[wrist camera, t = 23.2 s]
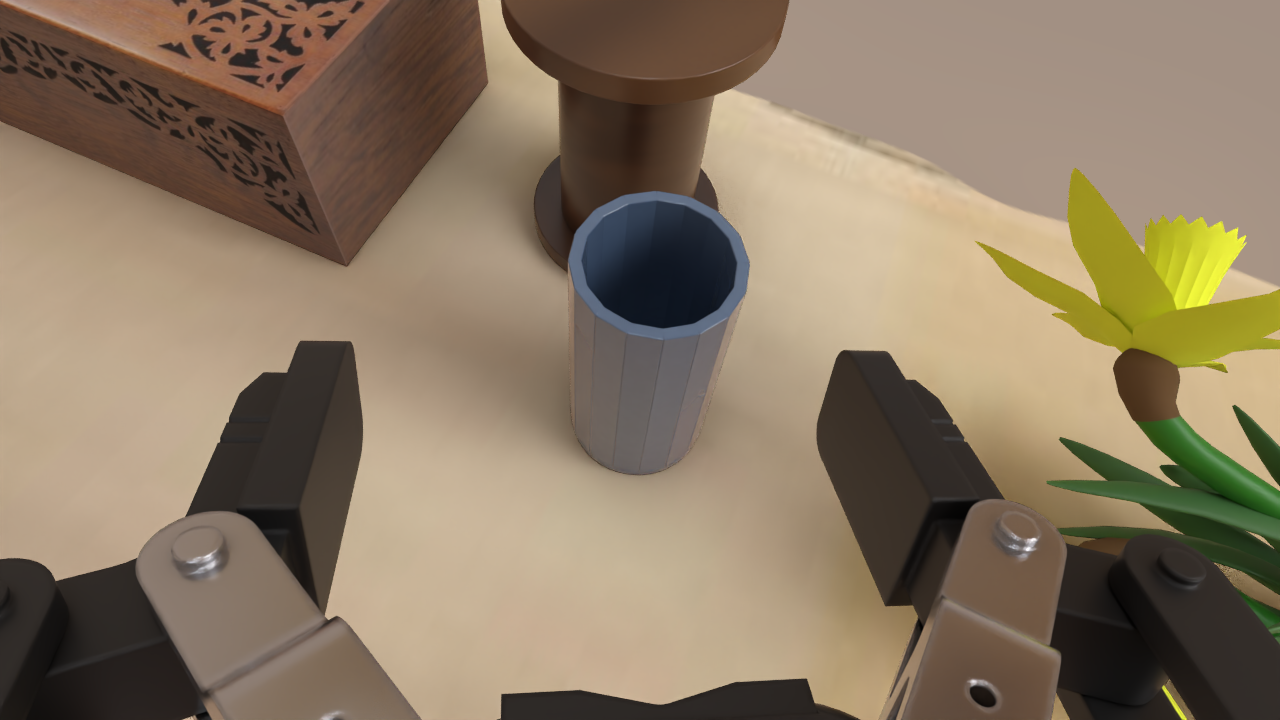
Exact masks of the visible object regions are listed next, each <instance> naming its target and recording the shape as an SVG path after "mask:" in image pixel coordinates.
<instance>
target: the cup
mask: <svg viewBox="0 0 1280 720" xmlns="http://www.w3.org/2000/svg"><path fill="white" fill-rule="evenodd" d="M749 263H750V262H749V259H748V256H747V254H746V251H745V248H744V245H743V242H742V239H741V237H740V236H739V233H738V232H737V231H736V230H735V229H734V228H733V227H732V226H731V225H730V224H729V223H728V221H727V220H726V219H725V218H724V217H723V216H722V215H721V214H720V213H718V211H716V210H714V209H712V208H710V207H708V206H707V205H705V204H703V203H701V202H699V201H697V200H695V199H693V198H691V197H689V196H684V195H678V194H673V193H667V192H661V191H649V192H642V193H634V194H627V195H624V196H620V197H618V198H616V199H614V200H612V201H610V202H608V203H606V204H604V205H602V206H600V207H598V208H596V209H595V210H594V211H593V212H592V213H591V214H590V216H589V217H588V218H587V219H586V220H585V221H584V223H583V224H582V225H581V226H580V227H579V228H578V229H577V231H576V233H575V234H574V238H573V242H572V246H571V250H570V253H569V257H568V300H569V365H570V411H571V418H572V425H573V429H574V432H575V435H576V437H577V439H578V441H579V443H580V444H581V446H582V447H583V448H584V450H585V451H586V452H587V453H588V454H589V455H590V456H591V457H592V458H593V459H594V460H596V461H597V462H598V463H600V464H601V465H603V466H605V467H607V468H609V469H612V470H614V471H617V472H621V473H625V474H633V475H644V474H651V473H655V472H659V471H662V470H664V469H667V468H669V467H671V466H673V465H674V464H676V463H677V462H679V461H680V460H681V459H682V458H683V457H684V456H685V455H686V454H687V453H688V452H689V451H690V449H691V448H692V447H693V445H694V443H695V441H696V439H697V437H698V435H699V434H700V431H701V428H702V425H703V422H704V419H705V416H706V413H707V410H708V407H709V404H710V401H711V398H712V395H713V392H714V389H715V386H716V383H717V380H718V377H719V374H720V371H721V368H722V365H723V361H724V358H725V355H726V352H727V349H728V346H729V343H730V340H731V337H732V334H733V331H734V328H735V325H736V322H737V319H738V316H739V313H740V310H741V307H742V304H743V301H744V298H745V294H746V291H747V284H748V276H749V268H750V264H749Z"/></svg>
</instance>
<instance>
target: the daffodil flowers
mask: <svg viewBox="0 0 1280 720" xmlns="http://www.w3.org/2000/svg"><path fill="white" fill-rule="evenodd" d="M1067 217H1068V222H1069V227H1070V232H1071V237H1072V242H1073V246H1074V248H1075V250H1076V251H1077V253H1078V255H1079V257H1080V259H1081V260H1082V262H1083V264H1084V266H1085V268H1086V269H1087V271H1088V273H1089V275H1090V277H1091V278H1092V280H1093V282H1094V284H1095V287H1096V290H1097V293H1098V297H1099V300H1100V303H1101V306H1102V307H1101V306H1100V305H1098V304H1097V303H1096V302H1094V301H1093V300H1092V299H1091V298H1089V297H1088V296H1087V295H1085V294H1084V293H1083V292H1080V291H1078V290H1076V289H1074V288H1072V287H1070V286H1068V285H1066V284H1064V283H1062V282H1060V281H1058V280H1056V279H1054V278H1052V277H1049V276H1047V275H1045V274H1043V273H1041V272H1039V271H1037V270H1035V269H1033V268H1031V267H1029V266H1027V265H1026V264H1024V263H1022V262H1020V261H1018V260H1016V259H1014V258H1012V257H1010V256H1008V255H1006V254H1004V253H1002V252H1000V251H998V250H996V249H994V248H992V247H990V246H987V245H985V244H982V243H980V242H977V241H975V242H976V243H977V244H978V245H979V246H981V247H982V248H983V249H984V250H985V251H986V252H987V253H988V254H989V255H990V256H991V257H992V258H993V259H994V261H995V262H996V263H997V264H998V266H999V267H1000V268H1001V270H1002V271H1003V272H1004V274H1005V275H1006V276H1007V277H1008V278H1009V279H1011V280H1012V281H1013V282H1015V283H1016V284H1018V285H1019V286H1021V287H1022V288H1023V289H1025V290H1026V291H1028V292H1029V293H1031V294H1032V295H1033V296H1035V297H1037V298H1039V299H1041V300H1043V301H1045V302H1047V303H1049V304H1051V305H1053V306H1055V307H1057V308H1059V309H1061V310H1063V311H1065V312H1067V313H1054V314H1052V315H1053V316H1055V317H1057V318H1059V319H1061V320H1063V321H1065V322H1067V323H1068V324H1070V325H1071V326H1072V327H1074V328H1075V329H1076V330H1077V331H1078V332H1079V333H1080V334H1081V335H1082V336H1083V337H1085V338H1088V339H1091V340H1093V341H1096V342H1099V343H1102V344H1104V345H1107V346H1114V347H1116V348H1117V349H1118V350H1120V351H1121V352H1122V354H1121V355H1120V356H1119V357H1118V358H1117V360H1116V361H1115V364H1114V367H1113V371H1114V375H1115V379H1116V384H1117V388H1118V392H1119V395H1120V397H1121V399H1122V401H1123V402H1124V404H1125V406H1126V408H1127V410H1128V412H1129V414H1130V416H1131V417H1132V419H1133V420H1134V421H1135V422H1136V423H1137V424H1138V425H1139V427H1140V428H1141V429H1142V430H1143V432H1144V433H1145V434H1146V435H1147V437H1148V438H1149V439H1150V440H1151V442H1152V443H1153V444H1154V445H1155V446H1156V447H1157V448H1158V449H1160V450H1161V451H1162V452H1163V453H1164V454H1165V455H1167V456H1168V457H1169V458H1170V459H1171V460H1172V461H1174V462H1175V463H1176V464H1177V465H1161V466H1160V469H1161V470H1162V471H1163V473H1164V474H1165V475H1166V476H1167V477H1168V478H1170V479H1171V480H1172V481H1173V482H1175V483H1176V484H1178V485H1179V486H1181V487H1175V486H1171V485H1169V484H1167V483H1165V482H1163V481H1161V480H1160V479H1158V478H1156V477H1154V476H1152V475H1150V474H1148V473H1146V472H1144V471H1142V470H1140V469H1138V468H1136V467H1133V466H1131V465H1129V464H1127V463H1125V462H1123V461H1121V460H1119V459H1116V458H1114V457H1112V456H1110V455H1108V454H1105V453H1103V452H1100V451H1098V450H1096V449H1093V448H1091V447H1088V446H1086V445H1083V444H1081V443H1078V442H1075V441H1072V440H1069V439H1065V438H1061V437H1060V439H1059V440H1060V441H1061V443H1062V444H1063V445H1065V446H1066V447H1067V448H1068V449H1069V450H1070V451H1071V452H1072V453H1073V454H1074V455H1076V456H1077V457H1078V458H1079V459H1081V460H1082V461H1083V462H1084V463H1086V464H1087V465H1088V466H1089V467H1090V468H1092V469H1093V470H1094V471H1095V472H1097V473H1098V474H1099V475H1101V476H1102V477H1103V478H1105V479H1106V480H1108V481H1097V480H1061V481H1047V484H1049V485H1052V486H1056V487H1060V488H1064V489H1068V490H1071V491H1075V492H1081V493H1086V494H1092V495H1098V496H1104V497H1110V498H1115V499H1121V500H1127V501H1132V502H1136V503H1139V504H1140V505H1142V506H1143V507H1145V508H1146V509H1148V510H1149V511H1150V512H1152V513H1153V514H1155V515H1156V516H1158V517H1159V518H1160V519H1162V520H1163V521H1165V522H1166V523H1168V524H1169V525H1171V526H1172V527H1174V528H1175V529H1177V530H1178V531H1180V532H1182V533H1183V534H1185V535H1183V534H1178V533H1174V532H1169V531H1165V530H1159V529H1144V528H1129V527H1114V526H1096V527H1072V528H1057V530H1058V531H1059V532H1060V534H1063V535H1069V536H1076V537H1085V538H1095V540H1090V541H1085V542H1083V543H1081V544H1080V545H1079V546H1078V547H1083V548H1087V549H1091V550H1096V551H1100V552H1104V553H1108V554H1113V555H1117V556H1118V555H1119V554H1120V552H1121V551H1122V549H1123V548H1124V546H1125V545H1126V543H1127V542H1128V541H1129V540H1130V539H1131V538H1133V537H1135V536H1138V535H1142V534H1153V535H1160V536H1165V537H1169V538H1172V539H1175V540H1177V541H1180V542H1182V543H1184V544H1186V545H1188V546H1190V547H1192V548H1194V549H1195V550H1197V551H1199V552H1200V553H1202V554H1203V555H1204V556H1206V557H1207V558H1208V559H1210V560H1211V561H1212V562H1215V563H1219V564H1222V565H1225V566H1228V567H1231V568H1234V569H1237V570H1240V571H1242V572H1244V573H1245V574H1247V575H1249V576H1250V577H1252V578H1253V579H1255V580H1256V581H1258V582H1259V583H1261V584H1263V585H1264V586H1266V587H1267V588H1269V589H1270V590H1272V591H1273V592H1275V593H1277V594H1278V595H1280V491H1279V490H1277V489H1276V488H1274V487H1273V486H1271V485H1270V484H1268V483H1267V482H1265V481H1264V480H1262V479H1260V478H1259V477H1257V476H1256V475H1254V474H1253V473H1251V472H1250V471H1248V470H1247V469H1245V468H1244V467H1242V466H1241V465H1239V464H1238V463H1236V462H1235V461H1234V460H1232V459H1231V458H1229V457H1228V456H1226V455H1225V454H1223V453H1222V452H1220V451H1219V450H1217V449H1216V448H1214V447H1213V446H1211V445H1210V444H1209V443H1208V442H1206V441H1205V440H1204V439H1203V438H1202V437H1200V436H1199V435H1198V434H1197V433H1196V432H1195V431H1194V430H1193V429H1192V428H1191V427H1190V426H1189V425H1188V424H1187V423H1186V421H1185V420H1184V419H1183V418H1182V417H1181V416H1180V414H1179V411H1178V408H1177V405H1176V398H1177V393H1178V388H1179V383H1180V375H1179V371H1178V368H1180V367H1200V366H1206V367H1209V368H1212V369H1216V370H1219V371H1222V372H1225V373H1228V372H1227V370H1226V365H1224V364H1223V363H1219V362H1214V361H1209V360H1214V359H1218V358H1220V357H1222V356H1225V355H1227V354H1229V353H1231V352H1236V351H1245V350H1253V349H1280V340H1275V339H1268V338H1263V337H1265V336H1267V335H1269V334H1271V333H1273V332H1275V331H1277V330H1279V329H1280V289H1279V290H1277V291H1274V292H1272V293H1270V294H1265V295H1260V296H1254V297H1249V298H1243V299H1238V300H1232V301H1227V302H1221V303H1215V304H1209V305H1208V303H1209V302H1210V300H1211V298H1212V296H1213V294H1214V293H1215V291H1216V289H1217V287H1218V286H1219V284H1220V282H1221V280H1222V278H1223V276H1224V275H1225V273H1226V272H1227V270H1228V269H1229V267H1230V266H1231V264H1232V263H1233V261H1234V260H1235V258H1236V257H1237V255H1238V254H1239V253H1240V251H1241V250H1242V248H1243V247H1244V245H1245V244H1246V243H1245V244H1244V245H1243V246H1242V244H1243V242H1244V240H1245V237H1246V235H1245V236H1243V237H1242V238H1240V239H1238V240H1237V233H1238V228H1236V229H1234V230H1232V231H1229V232H1227V233H1225V230H1224V227H1223V223H1222V222H1219V223H1217V224H1215V225H1213V226H1211V227H1209V228H1208V227H1207V225H1206V223H1205V221H1204V219H1203V217H1200V218H1198V219H1197V220H1195V221H1194V222H1192V223H1191V224H1188V223H1187V221H1186V220H1185V219H1184V217H1183V216H1182V215H1180V216H1178V217H1177V218H1176V219H1175V220H1174V221H1173V222H1172V223H1171V224H1170V223H1169V221H1168V220H1167V219H1166V218H1165V217H1164V215H1163V216H1162V217H1161V219H1160V220H1159V222H1158V223H1157V225H1155V223H1154V222H1153V220H1152V219H1150V223H1149V226H1148V229H1147V226H1146V225H1145V255H1144V254H1143V252H1142V251H1141V250H1140V248H1139V247H1138V245H1137V244H1136V242H1135V241H1134V240H1133V238H1132V237H1131V235H1130V234H1129V232H1128V231H1127V230H1126V228H1125V227H1124V226H1123V224H1122V223H1121V221H1120V220H1119V218H1118V217H1117V215H1116V214H1115V213H1114V211H1113V210H1112V209H1111V208H1110V206H1109V205H1108V204H1107V202H1106V201H1105V200H1104V198H1103V197H1102V196H1101V195H1100V193H1099V192H1098V191H1097V190H1096V189H1095V187H1094V186H1093V185H1092V184H1091V183H1090V182H1089V180H1088V179H1087V178H1086V177H1085V176H1084V175H1083V174H1082V173H1081V172H1080V171H1079V170H1078V169H1076V168H1074V169H1073V172H1072V174H1071V181H1070V188H1069V202H1068V216H1067ZM1232 407H1233V409H1234V412H1235V414H1236V416H1237V418H1238V421H1239V423H1240V425H1241V426H1242V428H1243V430H1244V432H1245V434H1246V436H1247V438H1248V439H1249V441H1250V443H1251V445H1252V447H1253V448H1254V450H1255V451H1256V453H1257V454H1258V456H1259V457H1260V459H1261V461H1262V462H1263V464H1264V465H1265V467H1266V468H1267V470H1268V471H1269V473H1270V474H1271V476H1272V477H1273V479H1274V480H1275V481H1276V482H1277V484H1278V485H1279V486H1280V447H1279V446H1278V445H1277V443H1276V442H1275V441H1274V440H1273V439H1272V438H1271V437H1270V436H1269V435H1268V434H1267V433H1266V432H1265V431H1264V430H1263V429H1262V428H1261V427H1260V426H1259V425H1258V424H1257V423H1256V422H1255V421H1254V420H1253V419H1252V418H1251V417H1249V416H1248V415H1247V414H1246V413H1245V412H1243V411H1242V410H1241V409H1240V408H1239V407H1237V406H1236V405H1234V406H1232ZM1178 465H1179V466H1178ZM1246 531H1248V532H1251V533H1255V534H1258V535H1260V536H1262V537H1264V538H1265V539H1266V540H1267V541H1268V542H1269V544H1270V545H1271V546H1272V547H1273V548H1274V549H1273V548H1272V547H1270V546H1269V545H1267V544H1265V543H1264V542H1262V541H1261V540H1259V539H1258V538H1256V537H1254V536H1253V535H1251V534H1250V533H1248V532H1246ZM1235 589H1236V590H1237V591H1238V592H1239V594H1240V595H1241V596H1242V597H1243V599H1244V600H1245V601H1246V603H1247V604H1248V605H1249V606H1250V608H1251V609H1252V610H1253V611H1254V613H1255V614H1256V615H1257V616H1258V618H1259V619H1260V620H1261V621H1262V623H1263V624H1264V625H1265V626H1266V628H1267V629H1268V630H1269V631H1270V633H1271V634H1272V635H1273V636H1274V638H1275V639H1276V640H1277V641H1278V643H1279V644H1280V610H1277V609H1275V608H1273V607H1271V606H1268V605H1266V604H1264V603H1262V602H1260V601H1257V600H1255V599H1253V598H1251V597H1248V596H1247V595H1245V594H1244V593H1242V592H1241V591H1240V590H1238V589H1237V588H1235ZM1162 689H1163V691H1164V692H1165V694H1166V695H1167V697H1168V698H1169V700H1170V702H1171V703H1172V705H1173V706H1174V708H1175V710H1176V711H1177V713H1178V714H1179V716H1180V717H1181V719H1182V720H1187V719H1186V717H1185V716H1184V714H1183V713H1182V711H1181V710H1180V708H1179V707H1178V705H1177V704H1176V702H1175V701H1174V699H1173V698H1172V696H1171V695H1170V693H1169V692H1168V690H1167V689H1166V687H1165V686H1163V687H1162Z"/></svg>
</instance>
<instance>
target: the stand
mask: <svg viewBox="0 0 1280 720" xmlns="http://www.w3.org/2000/svg"><path fill="white" fill-rule="evenodd" d="M788 5H789V0H501V6H502V14H503V18H504V21H505V24H506V27H507V29H508V31H509V33H510V35H511V37H512V38H513V40H514V42H515V43H516V44H517V46H518V47H519V48H520V50H521V51H522V52H523V54H524V55H525V56H527V57H528V58H529V59H530V60H531V61H532V62H533V63H534V64H535V65H536V66H537V67H539V68H540V69H541V70H543V71H544V72H545V73H547V74H548V75H550V76H551V77H553V78H555V79H557V80H558V94H559V134H560V155H559V156H558V157H557V158H556V159H555V160H554V161H553V162H552V163H551V164H550V165H549V166H548V167H547V169H546V170H545V171H544V173H543V175H542V176H541V178H540V180H539V183H538V185H537V188H536V192H535V197H534V215H535V224H536V229H537V233H538V236H539V238H540V240H541V243H542V245H543V247H544V248H545V249H546V251H547V252H548V254H549V255H550V256H551V257H552V259H553V260H554V261H555V262H556V263H557V264H558V265H559V266H561V267H562V268H563V269H564V270H565V271H567V272H568V257H569V253H570V250H571V246H572V242H573V238H574V234H575V233H576V231H577V229H578V228H579V227H580V226H581V225H582V224H583V223H584V221H585V220H586V219H587V218H588V217H589V216H590V214H591V213H592V212H593V211H594V210H595V209H596V208H598V207H600V206H602V205H604V204H606V203H608V202H610V201H612V200H614V199H616V198H618V197H620V196H624V195H627V194H634V193H642V192H649V191H661V192H667V193H673V194H678V195H684V196H689V197H691V198H693V199H695V200H697V201H699V202H701V203H703V204H705V205H707V206H708V207H710V208H712V209H714V210H716V211H718V201H717V197H716V193H715V191H714V188H713V186H712V184H711V182H710V180H709V179H708V177H707V175H706V174H705V173H704V171H703V170H702V169H701V162H702V157H703V152H704V147H705V142H706V137H707V131H708V126H709V121H710V116H711V111H712V106H713V100H714V95H717V94H719V93H722V92H724V91H727V90H729V89H731V88H733V87H735V86H737V85H738V84H740V83H742V82H744V81H745V80H747V79H748V78H749V77H751V76H752V75H753V74H754V73H756V72H757V71H758V70H759V69H760V68H761V67H762V66H763V65H764V64H765V63H766V62H767V61H768V59H769V58H770V56H771V55H772V53H773V52H774V50H775V49H776V46H777V44H778V42H779V39H780V37H781V33H782V29H783V26H784V22H785V18H786V14H787V10H788Z"/></svg>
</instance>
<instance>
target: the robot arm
mask: <svg viewBox="0 0 1280 720" xmlns="http://www.w3.org/2000/svg"><path fill="white" fill-rule="evenodd" d="M362 441H363V419H362V410H361V402H360V394H359V386H358V378H357V370H356V362H355V354H354V348H353V345H352V343H351V342H350V341H300V342H299V344H298V346H297V348H296V351H295V354H294V356H293V359H292V361H291V364H290V367H289V369H288V372H287V373H270V372H263V373H262V374H261V375H260V376H259V377H258V378H257V379H256V380H254V381H253V382H252V383H251V384H250V385H249V386H248V387H247V388H245V389H244V390H243V391H242V392H241V393H240V394H239V396H238V399H237V401H236V403H235V405H234V408H233V410H232V412H231V414H230V417H229V423H227V424H226V426H225V428H224V430H223V433H222V435H221V437H220V443H218V444H217V446H216V449H215V451H214V453H213V455H212V458H211V460H210V462H209V464H208V467H207V469H206V471H205V473H204V476H203V478H202V480H201V483H200V485H199V487H198V489H197V492H196V494H195V496H194V498H193V501H192V503H191V505H190V508H189V510H188V512H187V514H186V516H185V517H184V518H182V519H179V520H177V521H175V522H173V523H171V524H169V525H167V526H166V527H164V528H163V529H161V530H160V531H158V532H157V533H156V534H155V535H154V536H152V537H151V538H150V540H149V541H148V542H147V543H146V544H145V545H144V547H143V548H142V550H141V551H140V553H139V556H138V558H136V559H134V560H131V561H129V562H126V563H123V564H120V565H117V566H113V567H110V568H106V569H102V570H98V571H94V572H90V573H86V574H82V575H78V576H74V577H71V578H67V579H63V580H59V581H55V579H54V577H53V575H52V573H51V572H50V571H49V570H48V569H47V568H46V567H45V566H44V565H42V564H40V563H38V562H35V561H32V560H27V559H20V558H8V559H0V720H182V719H185V718H188V717H191V716H192V717H193V719H194V720H421V718H420V717H419V716H418V714H417V713H416V712H415V710H414V709H413V708H412V707H411V705H410V704H409V703H408V701H407V700H406V699H405V697H404V696H403V695H402V693H401V692H400V691H399V690H398V688H397V687H396V686H395V684H394V683H393V682H392V680H391V679H390V678H389V676H388V675H387V674H386V673H385V671H384V670H383V669H382V667H381V666H380V665H379V663H378V662H377V661H376V659H375V658H374V657H373V656H372V654H371V653H370V652H369V650H368V649H367V648H366V646H365V645H364V644H363V642H362V641H361V640H360V639H359V637H358V636H357V635H356V633H355V632H354V631H353V629H352V628H351V627H350V626H349V625H348V624H347V623H346V622H345V621H344V620H343V619H342V618H340V617H338V616H335V617H334V618H332V619H330V620H328V619H327V618H326V617H325V611H326V607H327V603H328V598H329V594H330V589H331V585H332V581H333V576H334V572H335V567H336V563H337V559H338V554H339V550H340V545H341V541H342V536H343V532H344V528H345V523H346V519H347V514H348V510H349V506H350V501H351V497H352V492H353V488H354V484H355V479H356V475H357V470H358V466H359V461H360V457H361V451H362ZM817 445H818V450H819V454H820V456H821V459H822V461H823V463H824V466H825V468H826V470H827V472H828V475H829V477H830V479H831V482H832V484H833V486H834V489H835V491H836V493H837V496H838V498H839V500H840V502H841V505H842V507H843V509H844V512H845V514H846V516H847V519H848V521H849V523H850V526H851V528H852V530H853V532H854V535H855V537H856V539H857V542H858V544H859V546H860V549H861V551H862V553H863V556H864V558H865V560H866V562H867V565H868V567H869V569H870V572H871V574H872V576H873V579H874V581H875V583H876V586H877V588H878V590H879V592H880V595H881V597H882V599H883V602H884V604H885V606H909V605H913V606H914V609H915V611H916V613H917V615H918V618H917V620H916V622H915V624H914V626H913V628H912V630H911V633H910V636H909V638H908V641H907V644H906V647H905V649H904V652H903V655H902V657H901V660H900V663H899V666H898V668H897V671H896V674H895V676H894V679H893V682H892V685H891V687H890V690H889V693H888V695H887V698H886V701H885V704H884V706H883V709H882V712H881V714H880V717H879V719H878V720H1051V718H1052V713H1053V707H1054V701H1055V695H1056V693H1057V695H1058V697H1059V699H1060V701H1061V703H1062V705H1063V707H1064V709H1065V710H1066V712H1067V714H1068V716H1069V718H1070V720H1182V719H1181V717H1180V716H1179V714H1178V713H1177V711H1176V710H1175V708H1174V706H1173V705H1172V703H1171V702H1170V700H1169V698H1168V697H1167V695H1166V694H1165V692H1164V691H1163V689H1162V687H1163V686H1164V684H1165V683H1166V682H1167V681H1168V680H1169V679H1170V680H1171V682H1172V683H1173V685H1174V687H1175V688H1176V690H1177V691H1178V693H1179V694H1180V696H1181V697H1182V699H1183V700H1184V702H1185V704H1186V705H1187V707H1188V708H1189V710H1190V711H1191V713H1192V714H1193V716H1194V718H1195V720H1280V644H1279V643H1278V641H1277V640H1276V639H1275V638H1274V636H1273V635H1272V634H1271V633H1270V631H1269V630H1268V629H1267V628H1266V626H1265V625H1264V624H1263V623H1262V621H1261V620H1260V619H1259V618H1258V616H1257V615H1256V614H1255V613H1254V611H1253V610H1252V609H1251V608H1250V606H1249V605H1248V604H1247V603H1246V601H1245V600H1244V599H1243V597H1242V596H1241V595H1240V594H1239V592H1238V591H1237V590H1236V589H1235V587H1234V586H1233V585H1232V584H1231V582H1230V581H1229V580H1228V579H1227V577H1226V576H1225V575H1224V574H1223V572H1222V571H1221V570H1220V569H1219V568H1218V567H1217V566H1216V565H1215V564H1214V563H1213V562H1212V561H1211V560H1210V559H1208V558H1207V557H1206V556H1204V555H1203V554H1202V553H1200V552H1199V551H1197V550H1195V549H1194V548H1192V547H1190V546H1188V545H1186V544H1184V543H1182V542H1180V541H1177V540H1175V539H1172V538H1169V537H1165V536H1160V535H1153V534H1142V535H1138V536H1135V537H1133V538H1131V539H1130V540H1129V541H1128V542H1127V543H1126V545H1125V546H1124V548H1123V549H1122V551H1121V552H1120V554H1119V555H1118V556H1117V555H1113V554H1108V553H1104V552H1100V551H1096V550H1091V549H1087V548H1083V547H1078V546H1074V545H1070V544H1067V543H1065V541H1064V539H1063V537H1062V536H1061V534H1060V532H1059V531H1058V530H1057V529H1056V528H1055V526H1054V525H1053V524H1052V523H1051V522H1049V521H1048V520H1047V519H1046V518H1045V517H1043V516H1042V515H1041V514H1039V513H1037V512H1036V511H1034V510H1032V509H1030V508H1028V507H1026V506H1024V505H1021V504H1019V503H1016V502H1012V501H1008V500H1005V499H1004V497H1003V496H1002V494H1001V493H1000V491H999V490H998V488H997V487H996V485H995V484H994V482H993V481H992V479H991V478H990V476H989V475H988V473H987V471H986V470H985V468H984V467H983V465H982V464H981V462H980V461H979V459H978V458H977V456H976V455H975V453H974V452H973V450H972V449H971V447H970V446H969V444H968V443H967V442H964V436H963V435H962V433H961V432H960V430H959V429H958V427H957V426H956V425H953V420H952V418H951V417H950V415H949V414H948V412H947V411H946V409H945V408H944V406H943V405H942V403H941V402H940V400H939V399H938V398H937V397H936V396H934V395H933V394H932V393H931V392H930V391H928V390H927V389H926V388H925V387H923V386H922V385H921V384H920V383H918V382H917V381H916V380H906V379H905V377H904V376H903V374H902V373H901V371H900V369H899V368H898V366H897V365H896V363H895V361H894V360H893V358H892V357H891V355H890V354H889V353H888V352H886V351H853V350H844V351H841V352H840V353H839V355H838V356H837V358H836V361H835V364H834V367H833V371H832V374H831V377H830V381H829V384H828V387H827V391H826V394H825V397H824V401H823V404H822V407H821V411H820V414H819V418H818V422H817ZM498 720H860V719H858V718H856V717H854V716H852V715H849V714H847V713H845V712H842V711H840V710H837V709H834V708H831V707H828V706H825V705H821V704H816V703H814V700H813V697H812V694H811V690H810V687H809V684H808V681H807V679H789V680H770V681H750V682H734V683H731V684H728V685H725V686H722V687H719V688H716V689H713V690H709V691H706V692H703V693H700V694H697V695H694V696H691V697H688V698H684V699H681V700H678V701H675V702H672V703H668V704H664V705H656V704H650V703H644V702H639V701H634V700H629V699H623V698H618V697H613V696H608V695H602V694H597V693H592V692H587V691H582V690H574V691H554V692H535V693H515V694H501V719H498Z"/></svg>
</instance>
